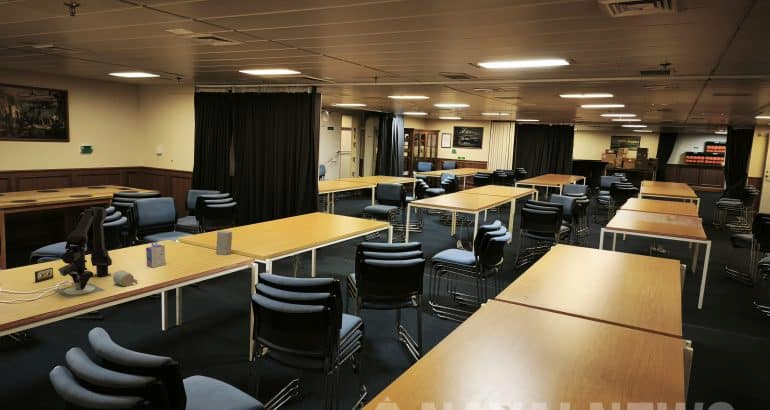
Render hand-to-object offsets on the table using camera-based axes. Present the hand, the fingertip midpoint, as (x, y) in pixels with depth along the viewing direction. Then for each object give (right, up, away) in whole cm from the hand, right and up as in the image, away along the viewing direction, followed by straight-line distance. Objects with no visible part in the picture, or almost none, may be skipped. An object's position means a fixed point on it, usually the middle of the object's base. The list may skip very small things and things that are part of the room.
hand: (79, 288), depth 237 cm
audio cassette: (-28, +1, +14) cm, 31 cm away
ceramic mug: (+16, -1, +14) cm, 21 cm away
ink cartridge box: (+14, +5, +52) cm, 53 cm away
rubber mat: (0, -2, 0) cm, 2 cm away
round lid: (0, -1, 0) cm, 1 cm away
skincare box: (+43, +8, +88) cm, 98 cm away
